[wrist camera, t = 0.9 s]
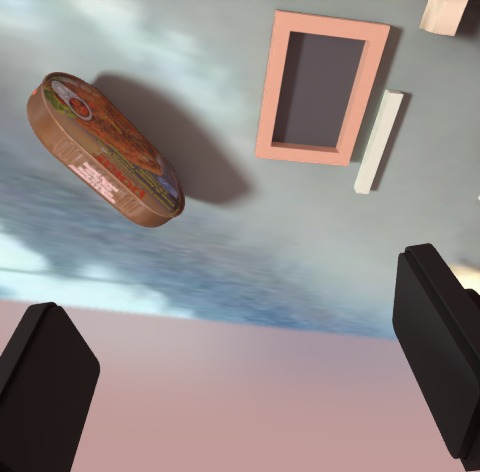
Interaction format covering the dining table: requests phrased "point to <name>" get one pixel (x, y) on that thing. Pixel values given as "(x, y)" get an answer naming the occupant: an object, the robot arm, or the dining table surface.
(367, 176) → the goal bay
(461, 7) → the lane
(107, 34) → the dining table surface
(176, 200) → the tin
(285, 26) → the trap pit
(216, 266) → the dining table surface
